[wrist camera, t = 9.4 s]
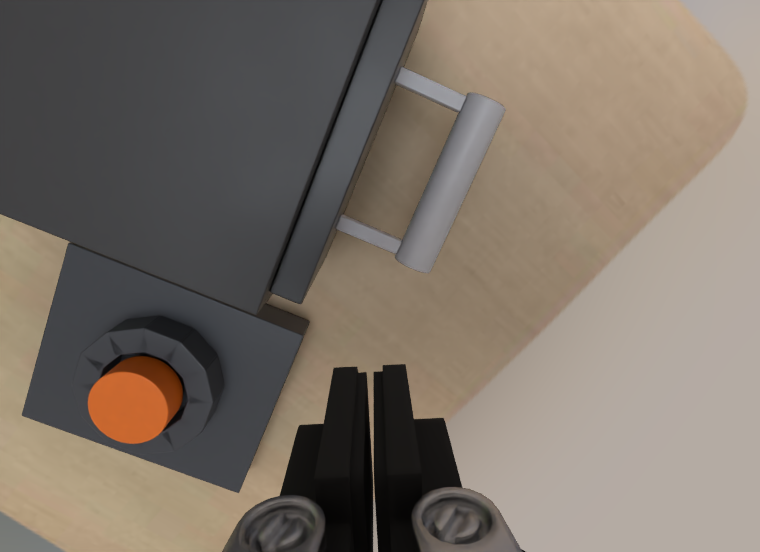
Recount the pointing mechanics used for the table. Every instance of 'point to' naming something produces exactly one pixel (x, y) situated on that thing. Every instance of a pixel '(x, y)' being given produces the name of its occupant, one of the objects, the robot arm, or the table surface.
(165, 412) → the button
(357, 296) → the table surface
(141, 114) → the drawer cabinet casing
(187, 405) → the control pad
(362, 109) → the drawer with pull handle
